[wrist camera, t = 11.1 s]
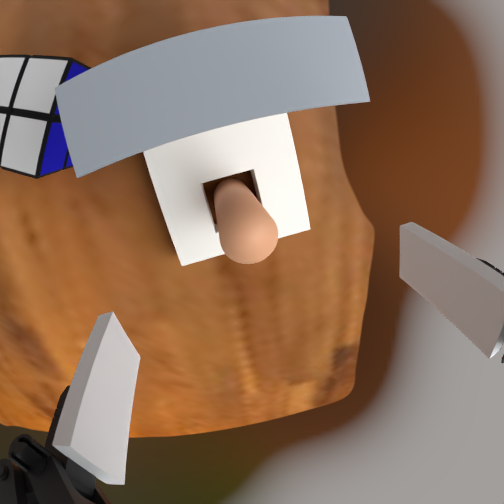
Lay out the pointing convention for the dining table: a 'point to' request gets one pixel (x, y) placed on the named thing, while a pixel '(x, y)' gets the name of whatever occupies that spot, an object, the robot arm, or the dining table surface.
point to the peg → (243, 223)
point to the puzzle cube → (33, 113)
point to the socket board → (223, 162)
